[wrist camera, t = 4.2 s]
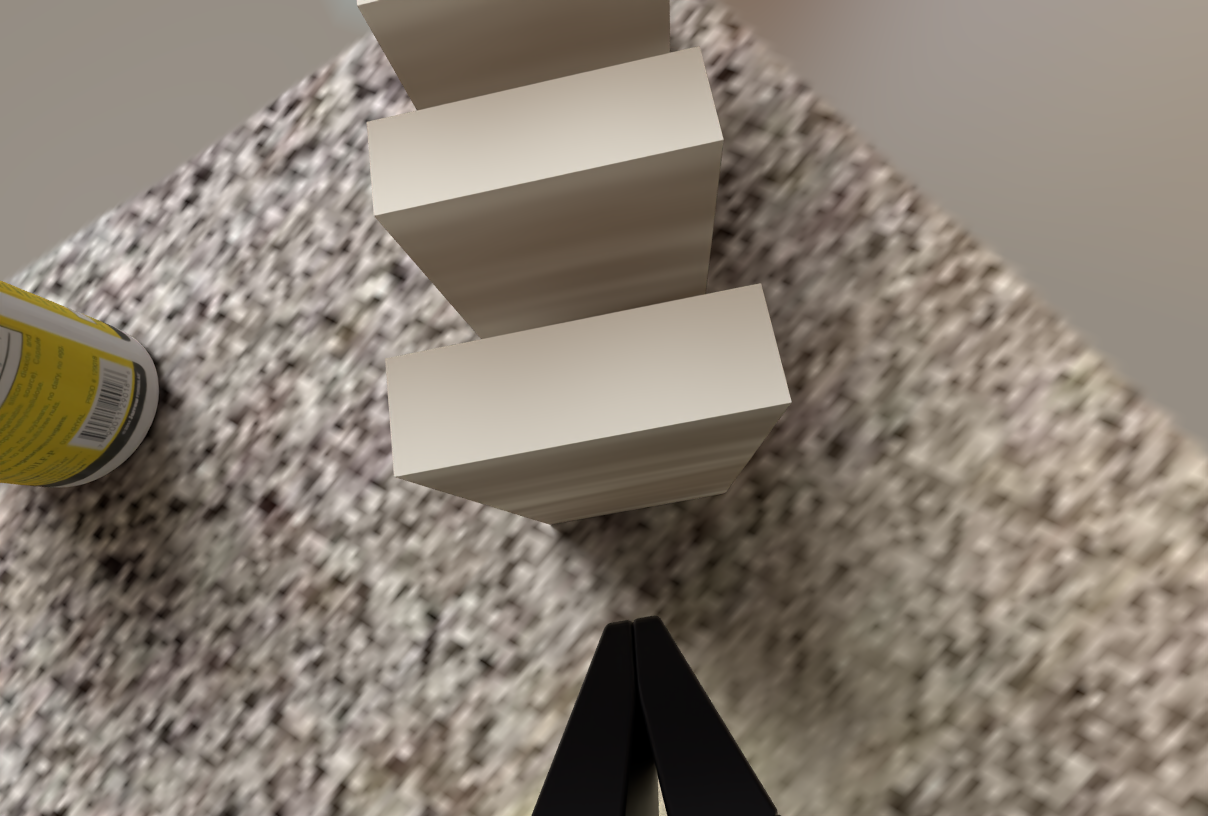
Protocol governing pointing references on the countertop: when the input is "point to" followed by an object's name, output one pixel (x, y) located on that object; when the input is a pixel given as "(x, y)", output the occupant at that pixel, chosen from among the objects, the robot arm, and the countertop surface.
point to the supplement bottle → (68, 393)
